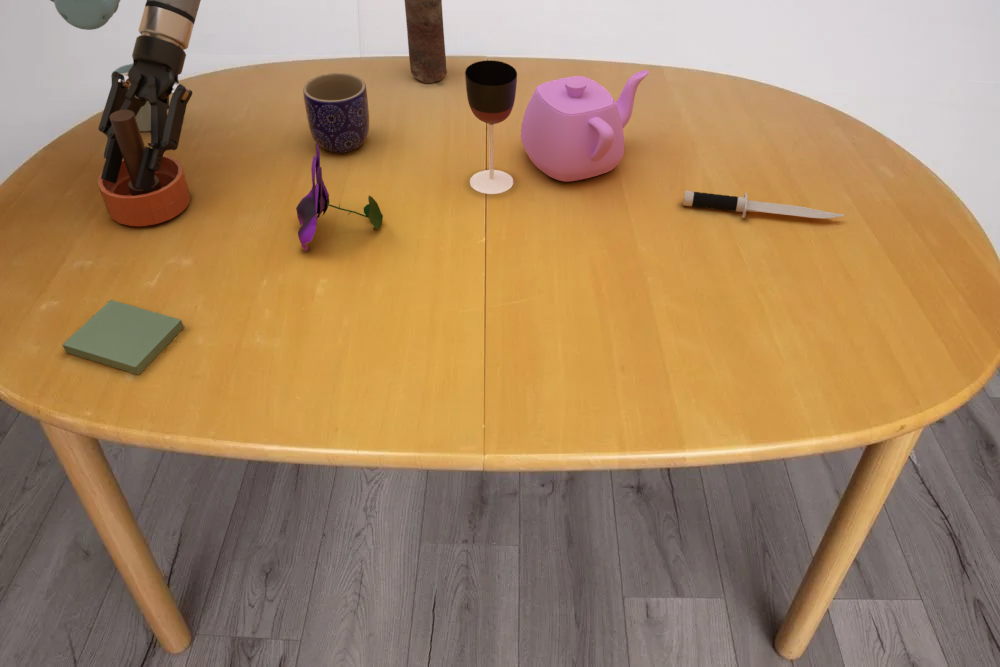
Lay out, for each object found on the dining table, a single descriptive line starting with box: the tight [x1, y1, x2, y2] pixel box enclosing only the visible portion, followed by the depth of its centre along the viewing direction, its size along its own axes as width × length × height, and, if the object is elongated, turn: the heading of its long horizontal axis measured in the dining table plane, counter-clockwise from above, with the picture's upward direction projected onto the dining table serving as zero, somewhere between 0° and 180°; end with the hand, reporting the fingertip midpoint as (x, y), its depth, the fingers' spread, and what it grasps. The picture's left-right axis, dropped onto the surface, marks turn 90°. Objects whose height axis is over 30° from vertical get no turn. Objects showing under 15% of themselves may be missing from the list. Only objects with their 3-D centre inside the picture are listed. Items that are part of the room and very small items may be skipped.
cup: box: [110, 63, 151, 132], centre depth 160 cm, size 8×8×10 cm
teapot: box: [520, 69, 650, 182], centre depth 150 cm, size 23×21×15 cm
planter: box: [302, 72, 370, 154], centre depth 155 cm, size 11×11×11 cm
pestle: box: [110, 110, 162, 196], centre depth 139 cm, size 5×5×16 cm
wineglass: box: [464, 59, 518, 195], centre depth 143 cm, size 8×9×20 cm
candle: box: [403, 0, 448, 84], centre depth 172 cm, size 8×7×20 cm
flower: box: [295, 143, 384, 252], centre depth 136 cm, size 15×15×14 cm
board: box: [61, 299, 185, 376], centre depth 120 cm, size 12×10×2 cm
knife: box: [682, 190, 847, 219], centre depth 142 cm, size 26×2×5 cm
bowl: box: [97, 154, 191, 227], centre depth 142 cm, size 13×13×6 cm
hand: (125, 184), depth 138 cm, fingers open, 6 cm apart
